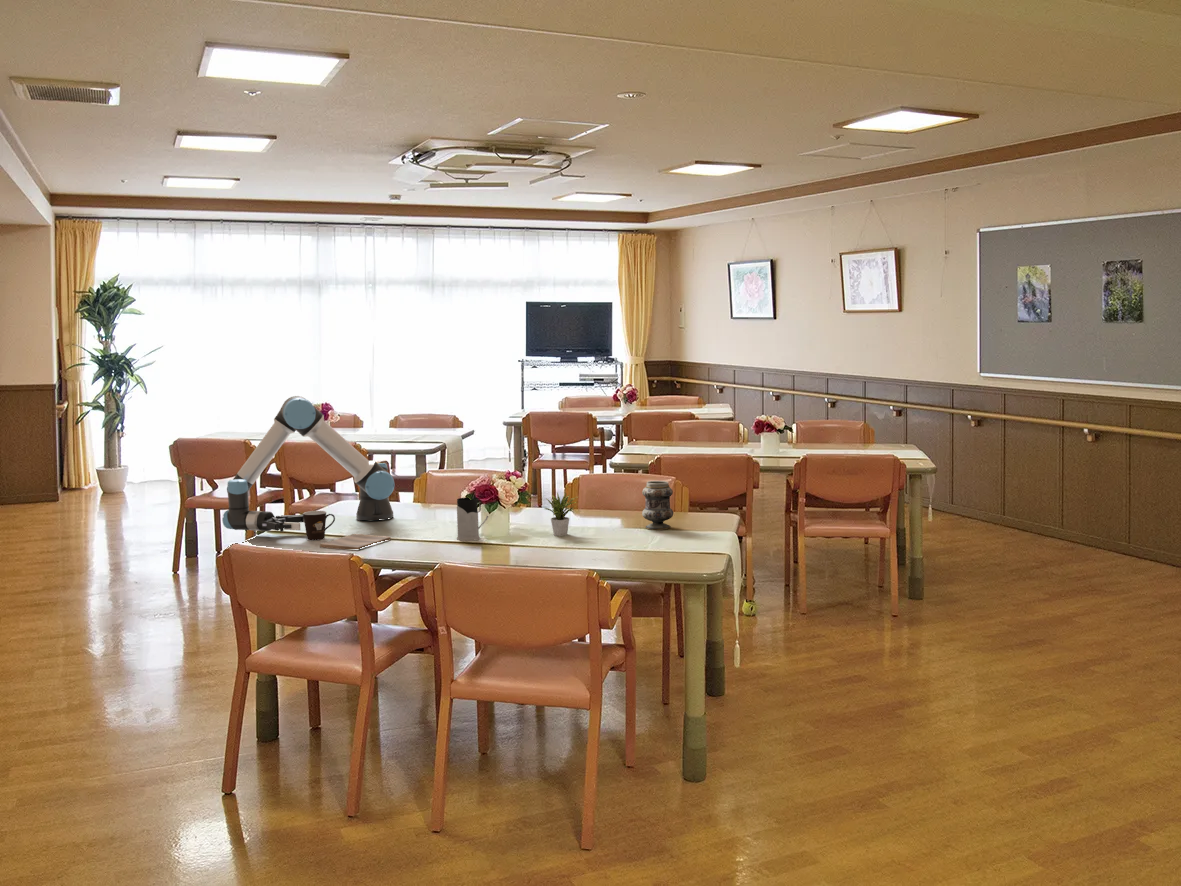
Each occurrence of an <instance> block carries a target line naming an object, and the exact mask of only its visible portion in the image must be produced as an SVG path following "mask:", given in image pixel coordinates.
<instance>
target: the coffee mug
mask: <svg viewBox="0 0 1181 886" xmlns="http://www.w3.org/2000/svg"><path fill="white" fill-rule="evenodd" d="M302 515H303V517H304V522H303V524H304V527H305V533H306V534H305V536H306V540H307V539H308V540H307V541H321V540H324V539H325V538H326V537H325V535H326V530H327V529H329V528H330V527H331V526H332V525H333V524H334V523H335V520H336V517H335V514H333V513H328V514H327V511H325V510H309V511H305V512H303V513H302ZM329 516H332V518H333V520H332V521H331V522H330V524H329V525H327V526H326V524H327V523H326V522H327V521H326V520H327V518H328V517H329Z"/></svg>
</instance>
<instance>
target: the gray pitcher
mask: <svg viewBox="0 0 1181 886" xmlns="http://www.w3.org/2000/svg"><path fill="white" fill-rule="evenodd" d="M481 511H482V504H481V505H480V504H479V508H478V498H477V499H476V500H470V499H469V498H468V497H459V498H457V500H456V519H457V520H456V521H457V522H456V524H457V526H456V527H457V537H456V540H457V541H461V542H462V541H463V542H470V541H471V542H472V541H477V540H480V539H481V537H480V534H479V530H480V529H481V528H482V526H483V525H484V524H485V523H486V521H487V520H488V518H489V516H487V515H486V517H485V519H484V520H483V521H482V522H481V524H480V525H479V513H480V512H481Z"/></svg>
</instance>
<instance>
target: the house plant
mask: <svg viewBox="0 0 1181 886" xmlns="http://www.w3.org/2000/svg"><path fill="white" fill-rule="evenodd" d="M551 497H552V498H550V500H551V501H550V500H549V499H548V498H546V500H547V501H548V503H549V504H550V505H551V507H552V509H550V508H547V507H546V508H544V510H545V511H546V510H547V511H550V512H552V514H553V517H551V518H550V522H551V527H552V528H551V529H552V532H553V535H554V536H556V537H562V536H563V537H564V536H567V535H568V531H569V525H570V517H568V516H567V514H569V512H572V513H573V514H575V513H574V510H575V509H574V506H572V507H570V508H569V506H570V505H572V504H576V503H577V501H574V500H575V499H577V498H578V496H576V497H573V498H569V497H570V494H568V495H567V492H565V494H564V495H563V497H562V498H560V495H559V492H556V497H555V496H554V495H553V494H551ZM573 501H574V502H573ZM576 507H578V506H576V505H575V508H576Z"/></svg>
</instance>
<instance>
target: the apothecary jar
mask: <svg viewBox="0 0 1181 886" xmlns="http://www.w3.org/2000/svg"><path fill="white" fill-rule="evenodd" d="M673 493H674V492H673V489H672V488H671V487H670V484H669V481H666V480H648V481H646V485H645V487H643V489H642V492H641V494H642V496H644V497H645V503H644V505H645V508H644V509H643V510H642V511H641V515H642V517H643V518H644V519H646V520H647V521H650V522H652V523H649V524H647V525H645V529H647V530H650V529H652V530H651V531H663V530H668V529H671V527H672V526H671V525H670V524H667V523H664V522H665V521H668V520H670V519H672V517H673V516H674V511H673V509H672V508H671V502H670V501H671V496H673Z"/></svg>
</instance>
